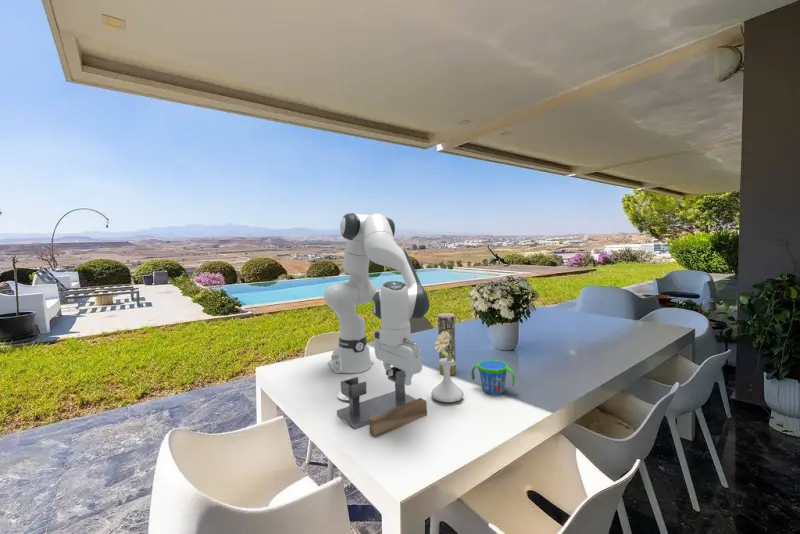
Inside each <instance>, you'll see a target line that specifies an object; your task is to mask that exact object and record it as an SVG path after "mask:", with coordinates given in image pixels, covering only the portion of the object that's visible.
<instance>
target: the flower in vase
mask: <svg viewBox="0 0 800 534" xmlns="http://www.w3.org/2000/svg"><path fill="white" fill-rule="evenodd" d="M449 341H450V337H449V334H448V332H447V331H446V332H445V333H444V331H443V332H441V335H439V334H438V335H437V337H436V341H435V342H434V345H435V346H434V351H436V353H437V354H439V353H440V352H442V354H443V355H444V356H446V357H448V358H442V359H440V360H438V361H440V362H441V364H442V367H443V372H444V375H443V378H442V379H443V380H442V381H441V382H440V383H438V385H436V386H435V387H434V388H432V390H431V393H430V394H431V395H430V396H432V398H433V399H435V400H436V401H439V402H443V403H454V402H457V401H460V400H461V399H462V398H463V397H464V390H462V389H461V387H460V386H458V385H457V384H456V383H454V382H453V381H452V380H451V376H450V367H451V364H452V362H453V361H454V360H453V359H451V354H448V353H449V349H448V347H447V345H449ZM446 348H447V349H448V353H447V352H446V351H445V349H446Z"/></svg>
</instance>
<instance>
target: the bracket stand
mask: <svg viewBox="0 0 800 534" xmlns="http://www.w3.org/2000/svg"><path fill="white" fill-rule="evenodd" d="M391 369H392V370H393V375H392V376H390V377H389V376H387V379H388V380H389V381H391V382H392V383H394V391H391V392H388V393H385V394H382V395H379V396H376V397H372V398H370V399H366V400H364V401H361V402H360V397H361V396H364V395H367V382H366V381H361V382H359V376H357V377H353V378H348V379H345V380H341V381H340V391H341V393H342V394H343V395H345V396H344V397H346V398H347V399H348V401H349V402H348V403H349V405H348V406H346V407H343V408H339V409H337V410H336V415H337V414H338V415H339V416H340V417H341V418H340V417H339V416H338V415H337V416H338V417H339V418H340V419H341V420H343V419H344V420H345V421H346V422H347V423H348V424H347V423H346V422H345V421H344V420H343V421H344V422H345V423H346V424H347V425H349V426H350V427H351V426H352V427H353V428H354V430H357V429H359V428H361V427H364V426H367V425H369V418H370V417H373V416H375V415H378V414H380V413H383V412H385V411H388V410H390V409H393V408H396V407H398V406H401V405H403V404H406V403H408V402H411V401H413V400H416V399H417V398H415V397H413V396H411V395H409V394H407V393H406V387H405V386H406V385H405V384H404V383H403V382H404V381H403V379H404V378H405V377H406V375H405V371H403V370H401V369H399V368H396V367H394V366H391ZM352 427H351V428H352ZM353 428H352V429H353ZM356 428H357V429H356Z"/></svg>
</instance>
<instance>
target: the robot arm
mask: <svg viewBox="0 0 800 534" xmlns="http://www.w3.org/2000/svg"><path fill="white" fill-rule="evenodd" d="M339 230H340V234H341V236H342V238H343V239H346V243H345V246H344V247H345V248H344V254H343V261H342V269H343V271H344V272H345V273H347V274H348V275H349V280H348V281H345V282H340V283H335V284H332V285H330V286H328V287H326V289H325V291H324V295H323V296H324V297H323V299H324V303H325V304H326V306H328V308H330V309H331V310H332V311H334V313H335V315H336V316H337V318H338V319H337V320H338V325H339V333H340V334H339V337H338V345H337V347H336V348H335V349H334V350H333V351H332V354H331V356H330V357H331V360H328V361H327V365H328V364H329V365H330V366H329V365H328V366H329V367H330V369H331V370H332V369H333V370H332V371H333V372H334V373H335V374H359V373H363V372H366V371H368V370H369V369H371V366H372V365H373V364H374V362H373V361H372V359H371V355H370V353H371V352H370V347H369V346H368V345H367V343H368V341H367V335H366V321H365V319H364V317H363V316H362V315H360V314H358V312H357V309H356V307H357V306H361V305H365V304H367V303H370V302H371V301H372V315H373V316H374V317H376V318H377V319H379V320H381V326H380V328H381V329H377V330H374V331H373V338H374V341H373V344H374V355H375V358H376V359H377V360H379V361H381V362H382V365H383V367H384V370H385V376H387V377H388V376H389V377H390V376H392V375H393V370H392V369H391V367H396V368H399V369H401V370H403V371H405V375H406V377H405V378H404V379H403V381H404V382H403V383H404V384H405V386H406V387H407V386H410V385H412V378H413V376H414V375H416V374H420V373H421V372H422V370H423V362H422V353H421V350H420V348H419V346H418V345H417V343H416V341H415V340H412V332H411V321H410V319H421V318H423V317H424V316H425V315H426V314H427V313H428V311H429V310H430V298H429V296H428V294H427V292H426V289H424V287H423V285H422V283H421V281H420V278H419V276H418V274H417V272H416V269H415V267H414V266H413V265H414V264H413V262H412V260H411V258H410V256H409V254H408V253H407V251H406V250H405V249H402V248H401V247H400V246H399V245H398V244H397V243H396V241H395V237H394V236H395V233H396V225H395V222H394V220H393V219H391V218H389V217H386V216H385V215H383V214H381V213H371V214H363V213H354V212H350V213H345V215H343V216H342V219H341V221H340V224H339ZM370 261H371V262H373V263H375V264H377V265H379V266H383V267H388V268H392V269H394V270H397V272H399V273H400V274H401V275H402V278H403V281H404V282H402V281H397V280H391V281H386V282H384V283H383V284H382V285H381V289H380V290H379V291H377V290H376V287H375V285H374V283H373V282H372V281H371V279H370V276H369V266H370Z"/></svg>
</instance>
